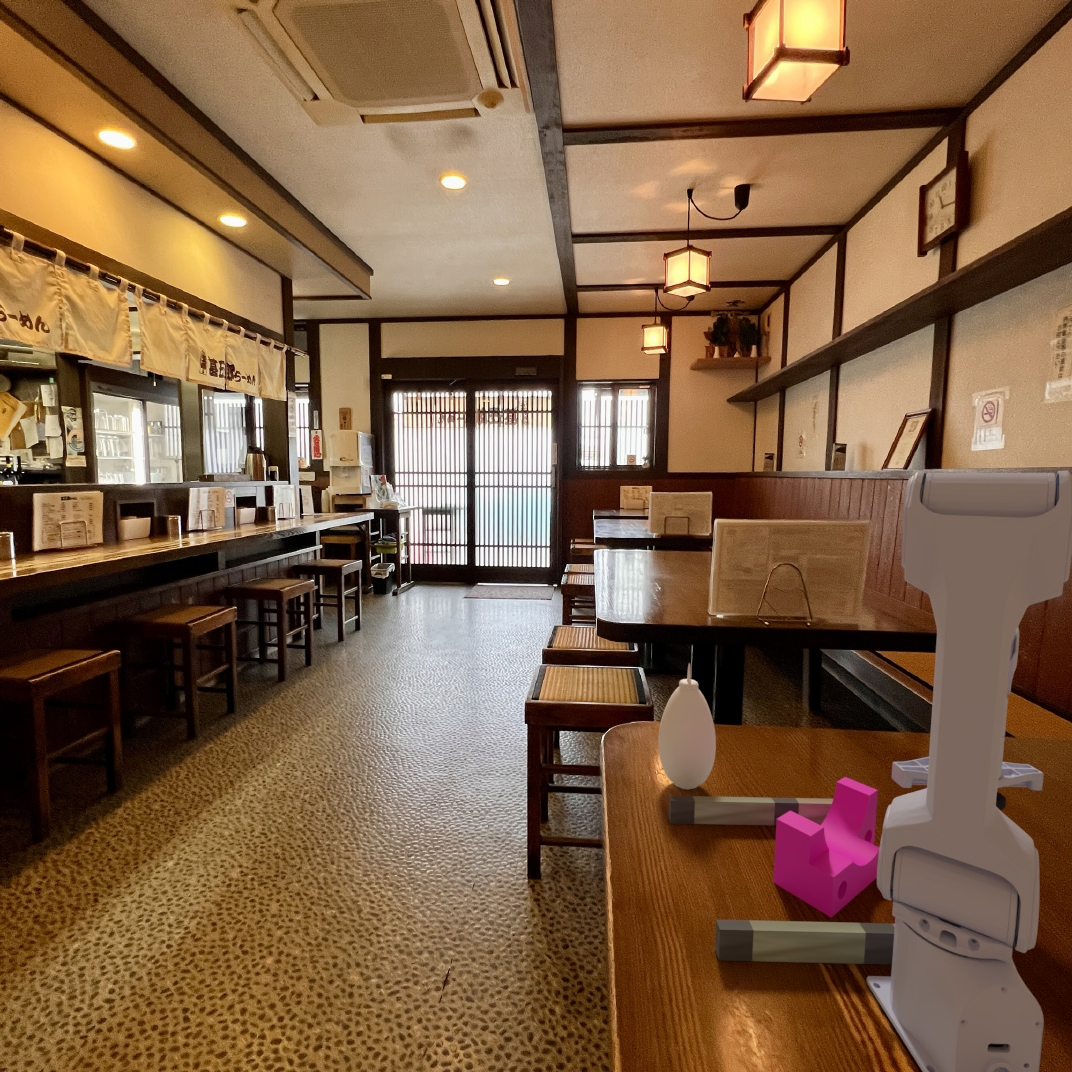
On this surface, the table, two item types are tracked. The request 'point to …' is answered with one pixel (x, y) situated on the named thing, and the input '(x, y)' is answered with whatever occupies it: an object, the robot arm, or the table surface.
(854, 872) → the toy block
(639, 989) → the table surface
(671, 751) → the sauce bottle
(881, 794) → the table surface
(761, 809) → the trap lane
